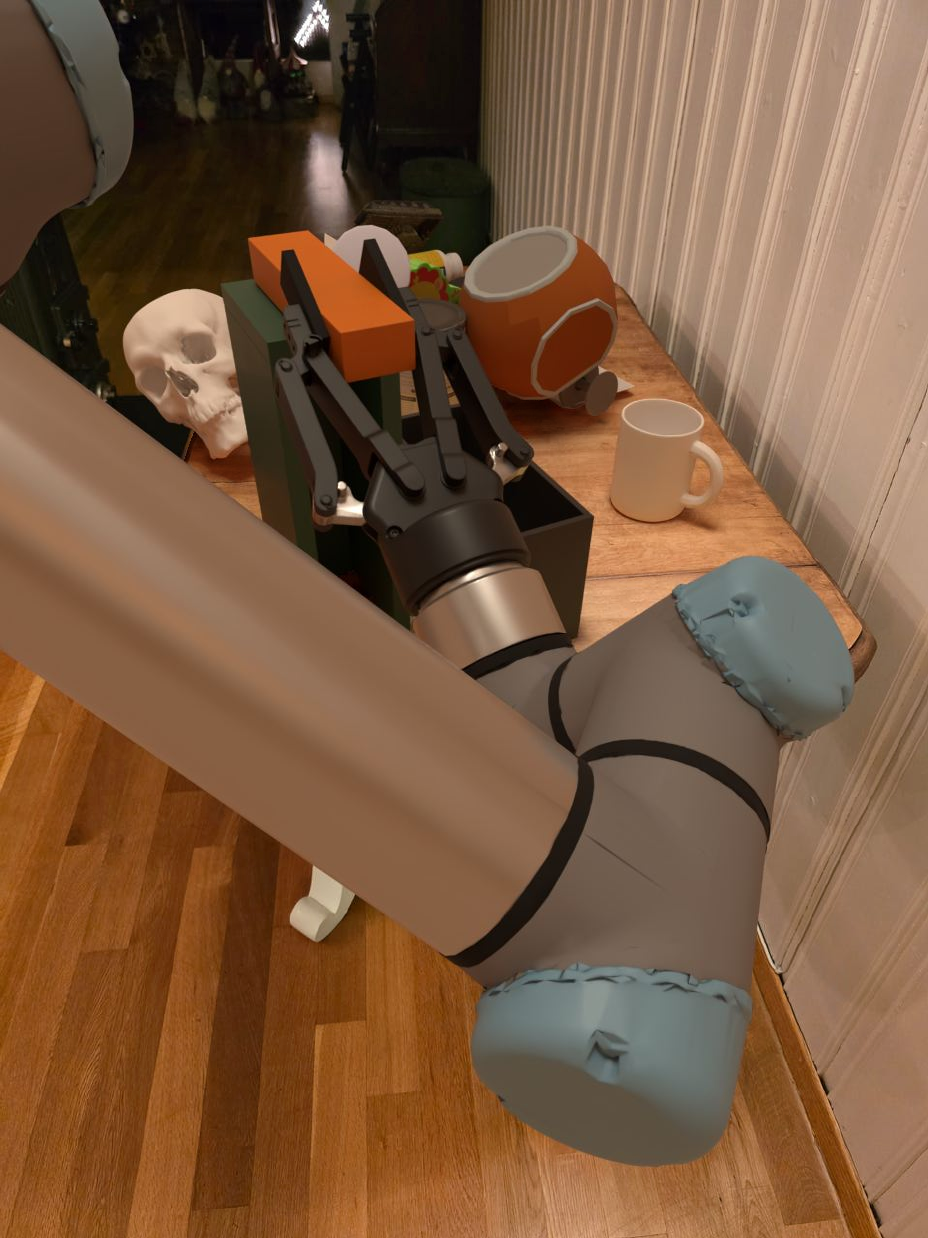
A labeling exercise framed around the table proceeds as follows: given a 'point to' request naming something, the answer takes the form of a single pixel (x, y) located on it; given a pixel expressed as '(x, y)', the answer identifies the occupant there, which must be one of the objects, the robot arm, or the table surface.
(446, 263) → the pill bottle
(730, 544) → the table surface
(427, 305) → the coffee can
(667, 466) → the mug
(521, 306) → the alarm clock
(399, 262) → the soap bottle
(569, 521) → the black open rectangular box
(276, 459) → the stand
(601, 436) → the table surface
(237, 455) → the table surface
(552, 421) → the table surface
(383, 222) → the toy tank
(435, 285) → the taco
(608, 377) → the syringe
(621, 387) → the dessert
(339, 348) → the orange rectangular bar
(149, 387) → the white skull
